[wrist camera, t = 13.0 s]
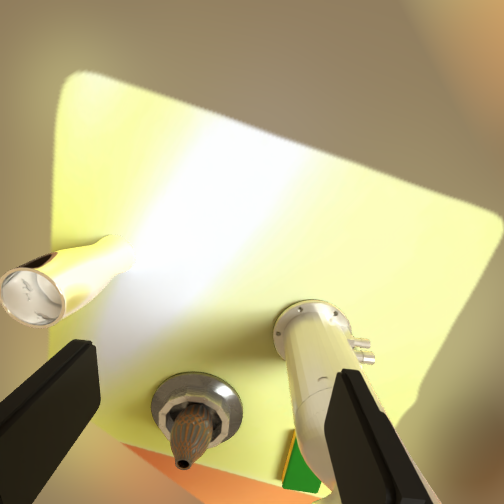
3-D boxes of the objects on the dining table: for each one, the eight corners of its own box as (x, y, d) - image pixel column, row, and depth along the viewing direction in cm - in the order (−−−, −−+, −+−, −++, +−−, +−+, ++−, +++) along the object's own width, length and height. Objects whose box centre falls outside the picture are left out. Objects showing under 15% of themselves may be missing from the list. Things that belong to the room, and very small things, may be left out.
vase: (181, 426, 47) (164, 480, 39) (176, 398, 45) (156, 448, 37) (217, 426, 47) (208, 480, 38) (213, 397, 45) (202, 447, 37)
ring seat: (247, 377, 44) (246, 391, 42) (238, 446, 49) (237, 463, 46) (152, 366, 44) (145, 379, 42) (153, 437, 49) (146, 453, 46)
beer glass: (110, 281, 40) (26, 339, 26) (85, 242, 38) (-21, 282, 24) (147, 264, 39) (80, 315, 24) (122, 224, 37) (36, 253, 23)
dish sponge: (331, 431, 48) (334, 444, 46) (314, 480, 52) (317, 494, 50) (294, 425, 48) (296, 438, 46) (281, 475, 52) (282, 489, 50)
